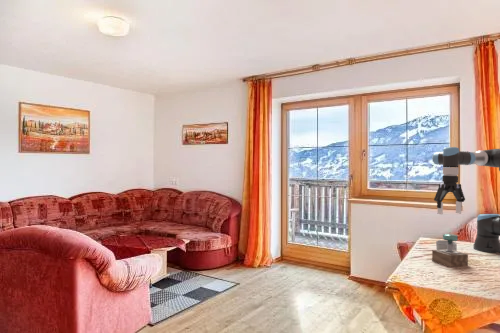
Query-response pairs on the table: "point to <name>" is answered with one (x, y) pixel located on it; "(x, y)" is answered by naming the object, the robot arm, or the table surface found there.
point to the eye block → (450, 258)
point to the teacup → (445, 245)
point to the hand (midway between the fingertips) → (449, 213)
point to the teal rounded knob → (450, 241)
